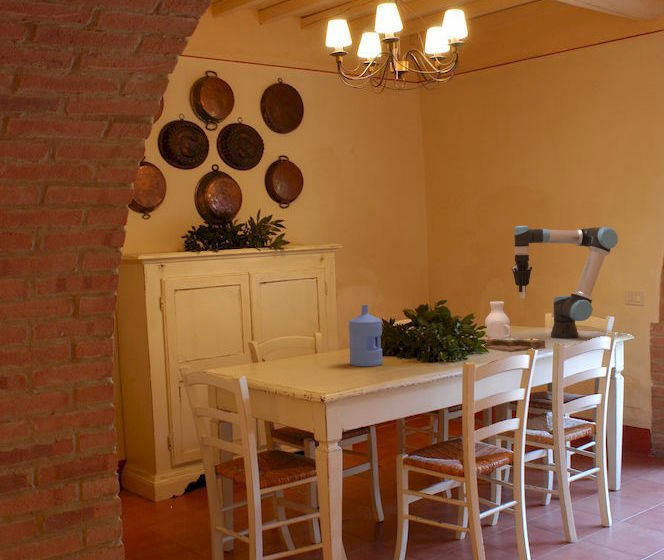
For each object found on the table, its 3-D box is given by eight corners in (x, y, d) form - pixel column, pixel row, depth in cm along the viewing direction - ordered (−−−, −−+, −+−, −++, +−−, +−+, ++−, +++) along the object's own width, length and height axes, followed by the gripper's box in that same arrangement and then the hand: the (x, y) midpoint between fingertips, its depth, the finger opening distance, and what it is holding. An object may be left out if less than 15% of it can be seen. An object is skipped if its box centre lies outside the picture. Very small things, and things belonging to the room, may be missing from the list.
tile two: (489, 342, 453) (489, 337, 453) (497, 343, 448) (496, 338, 448) (480, 343, 450) (480, 338, 450) (488, 344, 445) (488, 339, 445)
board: (509, 342, 463) (509, 336, 462) (545, 347, 439) (545, 340, 439) (475, 346, 451) (475, 339, 451) (510, 352, 427) (510, 345, 427)
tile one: (510, 342, 449) (510, 337, 449) (518, 343, 444) (518, 338, 444) (501, 343, 446) (501, 338, 446) (509, 344, 441) (509, 339, 441)
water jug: (345, 366, 396) (343, 306, 395) (355, 361, 411) (354, 303, 409) (377, 367, 391) (375, 307, 389) (386, 362, 406) (385, 303, 404)
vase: (512, 337, 484) (511, 302, 482) (487, 338, 484) (486, 303, 483) (507, 334, 498) (506, 300, 497) (483, 335, 498) (482, 301, 497)
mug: (515, 340, 471) (514, 321, 471) (506, 341, 466) (506, 323, 465) (497, 338, 480) (496, 320, 479) (488, 340, 474) (488, 322, 474)
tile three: (531, 343, 445) (531, 338, 445) (539, 344, 440) (539, 339, 440) (523, 344, 442) (523, 339, 442) (531, 345, 437) (531, 340, 437)
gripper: (526, 253, 463) (526, 297, 465) (507, 254, 457) (508, 298, 458) (535, 254, 457) (536, 297, 458) (517, 255, 450) (518, 299, 452)
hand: (522, 298), depth 458 cm, fingers closed
